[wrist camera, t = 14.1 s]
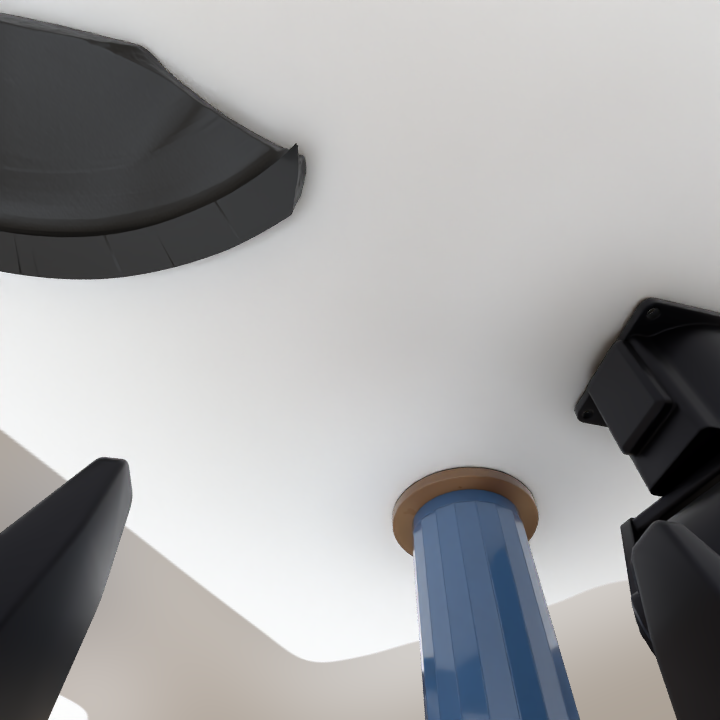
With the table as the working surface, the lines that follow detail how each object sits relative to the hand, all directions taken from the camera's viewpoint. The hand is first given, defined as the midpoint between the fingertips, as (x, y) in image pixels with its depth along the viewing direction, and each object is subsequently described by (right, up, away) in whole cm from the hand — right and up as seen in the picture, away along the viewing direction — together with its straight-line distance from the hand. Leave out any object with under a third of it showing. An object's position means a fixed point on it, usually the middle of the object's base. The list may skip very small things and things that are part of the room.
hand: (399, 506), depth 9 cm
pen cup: (+5, -7, +20) cm, 22 cm away
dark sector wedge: (-10, +9, +10) cm, 17 cm away
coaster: (+5, -6, +20) cm, 22 cm away
